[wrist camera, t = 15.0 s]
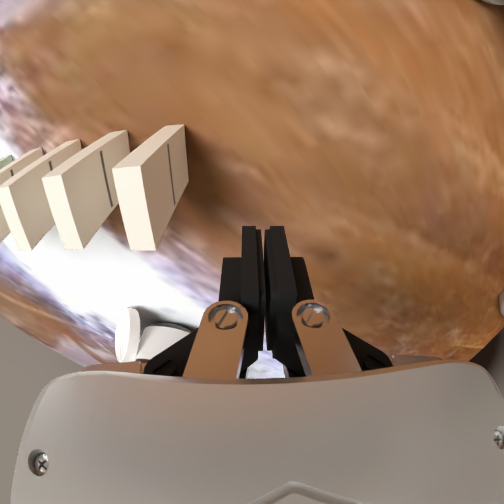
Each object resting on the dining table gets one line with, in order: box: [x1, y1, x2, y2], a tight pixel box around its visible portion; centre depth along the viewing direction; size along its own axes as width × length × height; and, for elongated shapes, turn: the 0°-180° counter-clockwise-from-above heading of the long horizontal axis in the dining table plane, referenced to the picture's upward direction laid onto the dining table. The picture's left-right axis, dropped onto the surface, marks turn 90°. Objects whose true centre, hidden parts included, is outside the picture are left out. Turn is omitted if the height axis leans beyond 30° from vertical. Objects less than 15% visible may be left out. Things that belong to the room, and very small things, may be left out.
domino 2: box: [0, 139, 82, 250], centre depth 18 cm, size 2×5×10 cm, turn 0°
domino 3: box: [42, 130, 130, 249], centre depth 18 cm, size 2×5×10 cm, turn 0°
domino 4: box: [112, 125, 189, 250], centre depth 18 cm, size 2×5×10 cm, turn 0°
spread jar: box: [115, 307, 193, 364], centre depth 31 cm, size 12×11×12 cm
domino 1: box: [0, 147, 43, 243], centre depth 18 cm, size 2×5×10 cm, turn 179°
